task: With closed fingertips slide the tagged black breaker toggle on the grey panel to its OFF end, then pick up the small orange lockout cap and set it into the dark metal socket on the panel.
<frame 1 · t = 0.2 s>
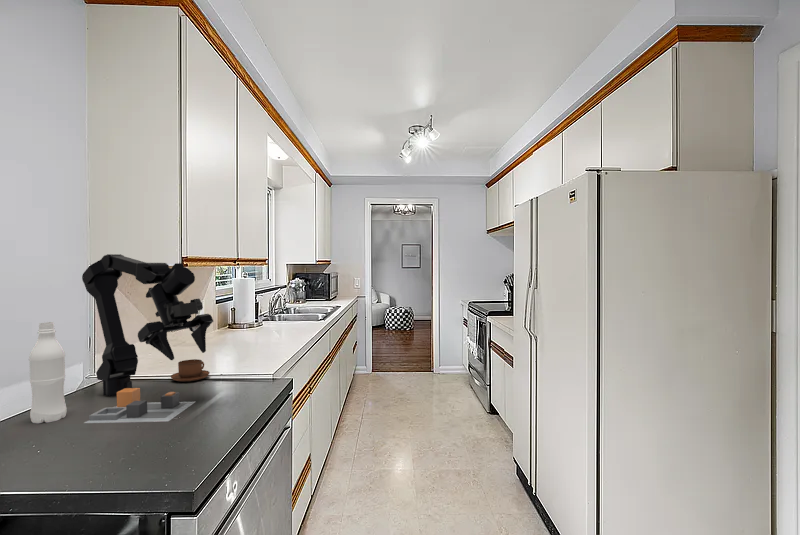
hand: (189, 355, 124), 15 cm above the countertop, tool tilted 30°, fingers open, 9 cm apart
water bottle: (49, 425, 117), on the countertop
cup and saucer: (190, 380, 161), on the countertop
panel: (143, 417, 121), on the countertop
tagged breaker: (170, 399, 125), point 3 cm above the countertop, slide at 0.0 cm
lockout cap: (128, 405, 127), point 1 cm above the countertop, touching panel
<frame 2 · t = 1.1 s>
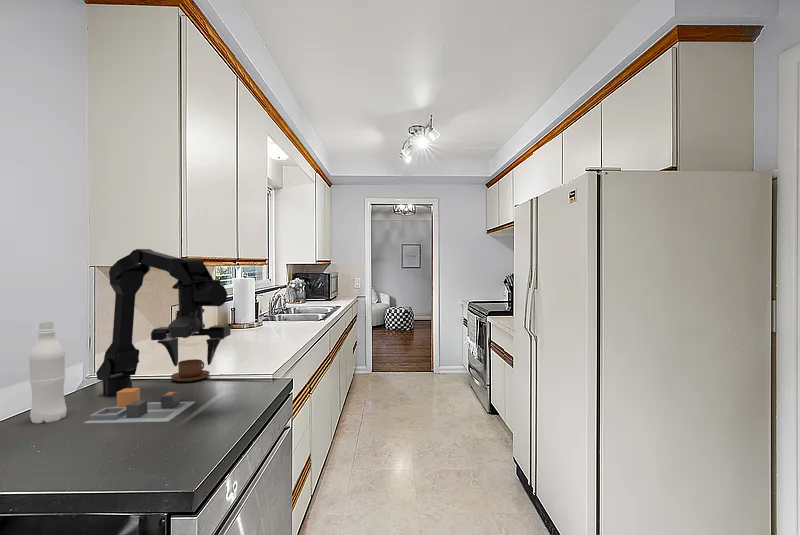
hand: (192, 365, 125), 12 cm above the countertop, tool pointing down, fingers open, 8 cm apart
nothing on the countertop moved.
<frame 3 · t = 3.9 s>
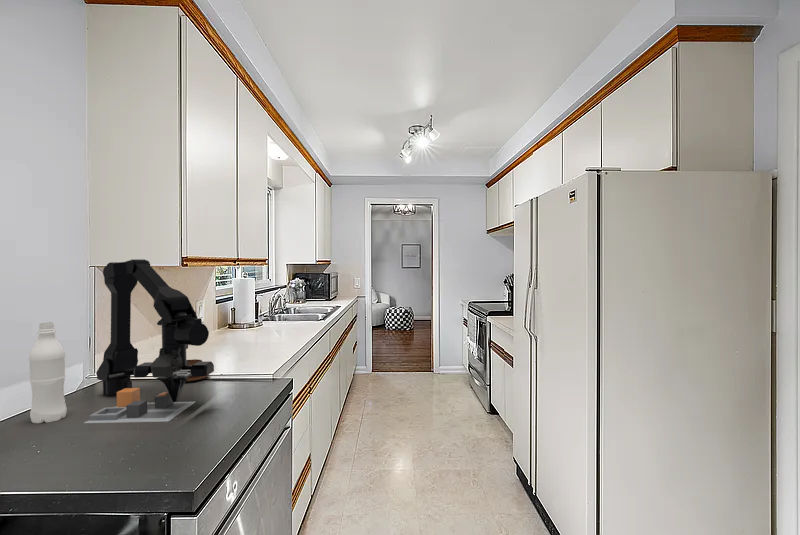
hand: (175, 401, 126), 3 cm above the countertop, tool pointing down, fingers closed
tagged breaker: (164, 399, 125), point 3 cm above the countertop, slide at 1.7 cm, touching gripper
everything else where it was.
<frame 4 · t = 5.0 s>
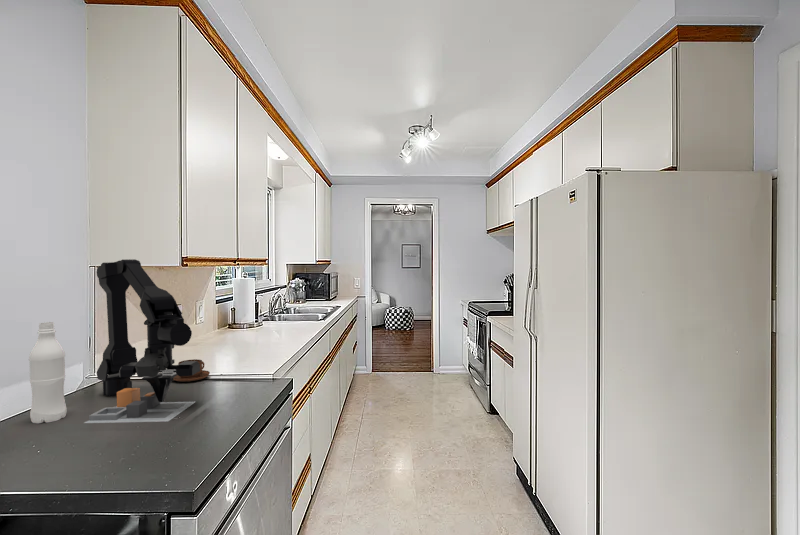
hand: (161, 401, 125), 3 cm above the countertop, tool pointing down, fingers closed
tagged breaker: (150, 399, 125), point 3 cm above the countertop, slide at 5.2 cm, touching gripper
everything else where it was.
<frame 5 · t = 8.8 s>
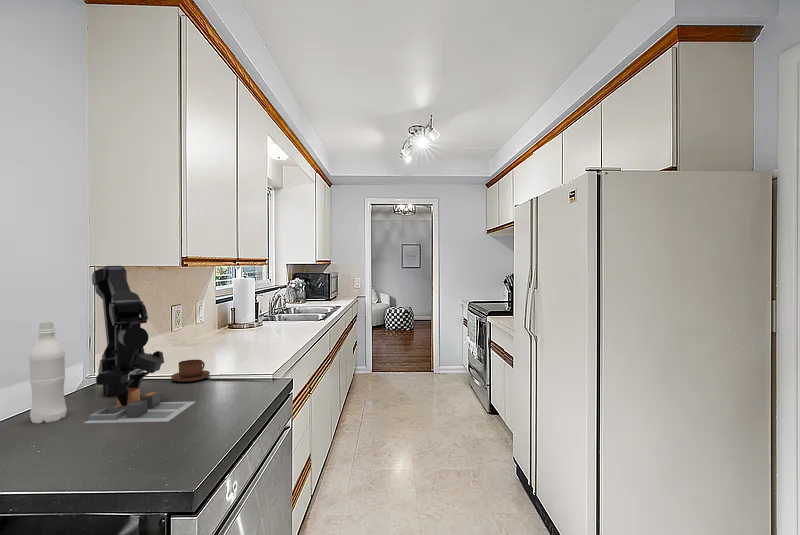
hand: (128, 403, 127), 2 cm above the countertop, tool pointing down, fingers closed on lockout cap, 4 cm apart
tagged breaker: (150, 399, 125), point 3 cm above the countertop, slide at 5.2 cm
lockout cap: (128, 405, 127), point 2 cm above the countertop, touching gripper, panel
everything else where it was.
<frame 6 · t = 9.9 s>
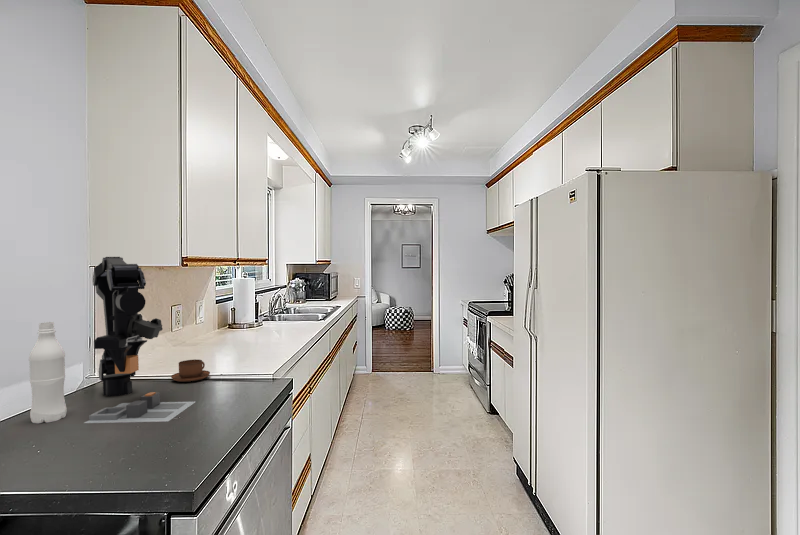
hand: (126, 369, 126), 11 cm above the countertop, tool pointing down, fingers closed on lockout cap, 4 cm apart
lockout cap: (127, 371, 126), point 11 cm above the countertop, touching gripper
everything else where it was.
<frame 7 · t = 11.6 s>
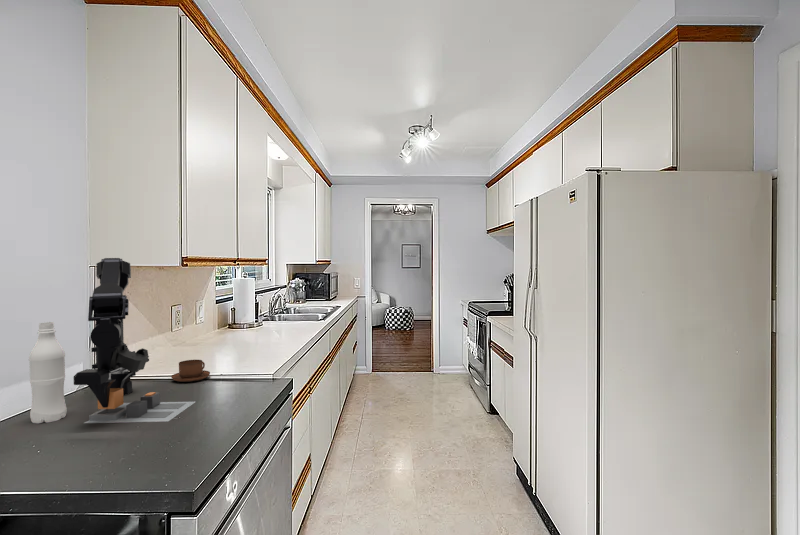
hand: (110, 404, 118), 4 cm above the countertop, tool pointing down, fingers closed on lockout cap, 4 cm apart
lockout cap: (110, 406, 118), point 4 cm above the countertop, touching gripper
everything else where it was.
when the fingers open (3 cm above the countertop, at t = 12.1 s): lockout cap drops 2 cm, resting on panel.
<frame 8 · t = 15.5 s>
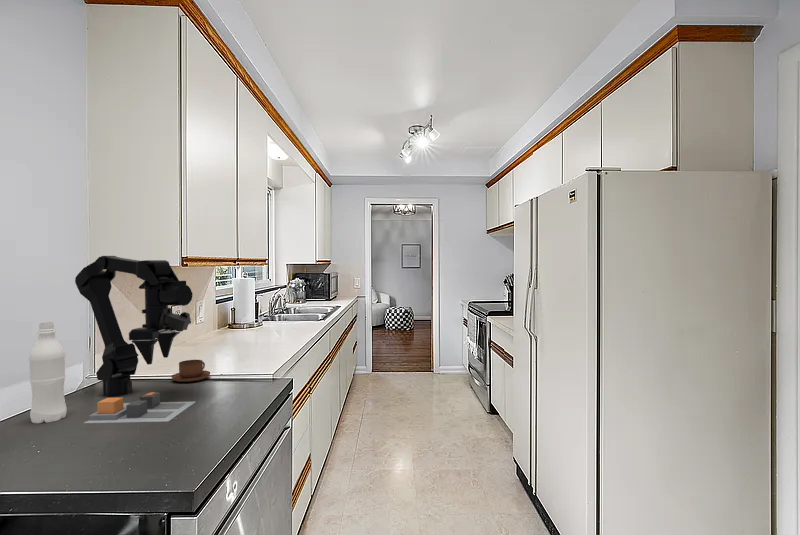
hand: (157, 360, 133), 12 cm above the countertop, tool pointing down, fingers open, 9 cm apart
lockout cap: (110, 415, 118), point 1 cm above the countertop, touching panel
everything else where it was.
at the end: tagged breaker slide at 5.2 cm; lockout cap 0.0 cm from the target spot on the panel, point 1.5 cm above the panel's base; the gripper is holding nothing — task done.
